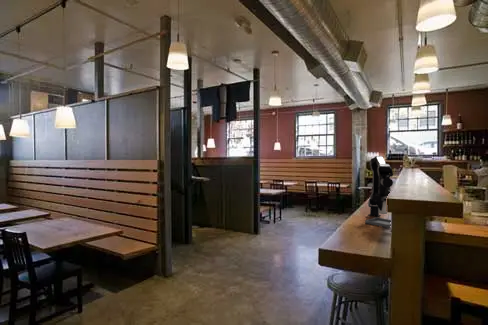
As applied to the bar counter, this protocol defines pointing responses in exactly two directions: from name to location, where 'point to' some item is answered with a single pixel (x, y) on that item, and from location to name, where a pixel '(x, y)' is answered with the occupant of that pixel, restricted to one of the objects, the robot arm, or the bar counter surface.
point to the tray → (379, 222)
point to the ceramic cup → (383, 209)
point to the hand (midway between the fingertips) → (382, 210)
